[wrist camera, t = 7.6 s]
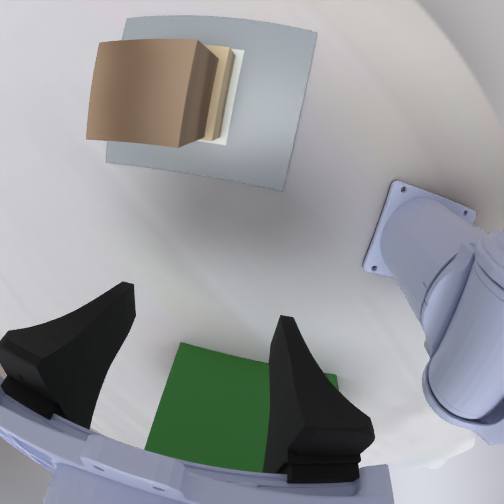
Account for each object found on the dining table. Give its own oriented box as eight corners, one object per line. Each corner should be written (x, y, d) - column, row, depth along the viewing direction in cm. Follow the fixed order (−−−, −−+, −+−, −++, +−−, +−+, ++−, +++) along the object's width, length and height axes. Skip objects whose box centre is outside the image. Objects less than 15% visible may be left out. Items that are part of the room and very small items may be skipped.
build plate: (316, 34, 15) (317, 32, 15) (282, 189, 21) (282, 191, 20) (130, 20, 15) (126, 18, 14) (109, 161, 21) (105, 163, 20)
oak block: (235, 55, 16) (229, 47, 13) (219, 137, 19) (211, 141, 16) (153, 50, 16) (136, 44, 13) (141, 128, 19) (123, 131, 16)
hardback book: (176, 380, 32) (125, 558, 11) (180, 342, 29) (112, 562, 8) (311, 407, 33) (315, 578, 12) (336, 374, 30) (355, 578, 9)
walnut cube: (218, 58, 14) (197, 39, 9) (204, 137, 16) (178, 148, 12) (141, 55, 14) (99, 42, 9) (130, 129, 16) (86, 139, 12)
